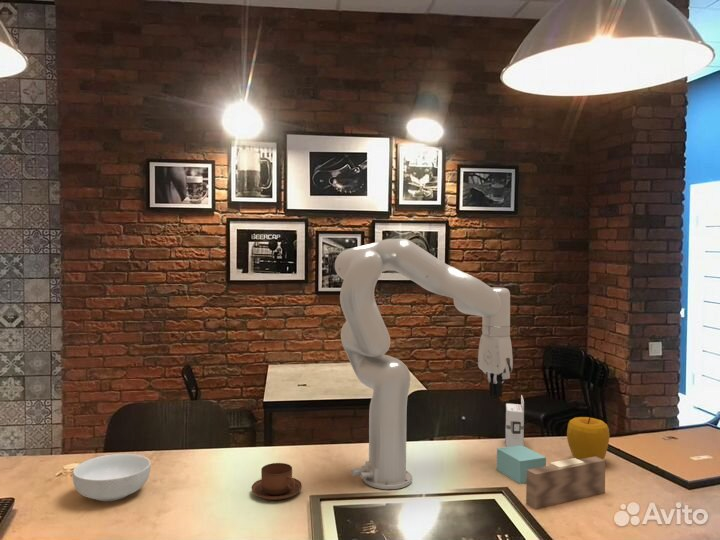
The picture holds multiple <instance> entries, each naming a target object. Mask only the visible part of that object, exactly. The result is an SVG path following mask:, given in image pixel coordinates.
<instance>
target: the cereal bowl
mask: <svg viewBox="0 0 720 540" xmlns="http://www.w3.org/2000/svg"><path fill="white" fill-rule="evenodd" d="M151 465H152V464H151V460H150V459H149V458H148V457H146V456H144V455H140V454H135V453H114V454H106V455H101V456H96V457H94V458H93V457H92V458H90V459H87V460H85V461H83V462H81V463H79V464H77V465H76V466H75V467H74V469H73V471H72V482H73V485H74V488H75V490H76V491H77V492H78V493H79V494H80V495H81V496H83V497H86V498H89V499H93V500H96V501H98V502H99V501H100V502H114V501H118V500H122V499H124V498H126V497H127V496H129V495H131V494H133V493H136V491H138V490H140V489H141V488H143V486H144V485H145V484H146V483H147V482H148V479H149V478H150V473H151V467H152V466H151Z"/></svg>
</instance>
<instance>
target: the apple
mask: <svg viewBox="0 0 720 540" xmlns="http://www.w3.org/2000/svg"><path fill="white" fill-rule="evenodd" d="M610 435H611V434H610V429H609V425H608V424H607V423H605V422H604V421H603V420H601V419H598V418H594V417H589V416H579V417H578V416H577V417H576V416H575V417H574V418H572V419H569V421H568V423H567V430H566V439H567V443H568V447H569V450H570V452H571V454H572V456H573V458H576V459H578V460H579V459H585V458H590V457H595V456H596V457H598V458H601V459H603V460H605V457H606V455H607V451H608V447H609V443H610Z"/></svg>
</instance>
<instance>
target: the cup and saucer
mask: <svg viewBox="0 0 720 540" xmlns="http://www.w3.org/2000/svg"><path fill="white" fill-rule="evenodd" d="M260 473H261V478H260V479H258V480H256V481H255V482H253V484H252V485H251V492H252V493H253V494H254V495H255V496H256V497H258V498H261V499H264V500H268V501H269V500H270V501H271V500H272V501H273V500H274V501H279V500H285V499H289V498H291V497H294V496H295V495H297V494H298V493H299V492H300V491H301V489H302V487H303V486H302V485H303V484H302V482H301V480H299V479H297V478H294V477H293V466H291V464H288V463H286V462H285V463H284V462H273V463H268V464H266V465H264V466H263V467H261V472H260Z"/></svg>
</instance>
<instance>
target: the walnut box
mask: <svg viewBox="0 0 720 540" xmlns="http://www.w3.org/2000/svg"><path fill="white" fill-rule="evenodd" d="M525 485H526V489H525V493H526V494H525V504H526V505H527V506H529V507H531V508H533V509H535V510H537V509H538V510H539V509H541V508H542V509H543V508H546V507H551V506H555V505H558V504H563V503H568V502H571V501H576V500H579V499H580V500H581V499H584V498H588V497H593V496H596V495H601V494H604V493H606V459H601V458H598V457H596V456H595V457H590V458H585V459H579V460H578V459H576V458H574V457H573V458H568V459H562V460H556V461H552V462H549V465H546V466H544V467H539V468H534V469H529V470H527V480H526V483H525Z"/></svg>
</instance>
